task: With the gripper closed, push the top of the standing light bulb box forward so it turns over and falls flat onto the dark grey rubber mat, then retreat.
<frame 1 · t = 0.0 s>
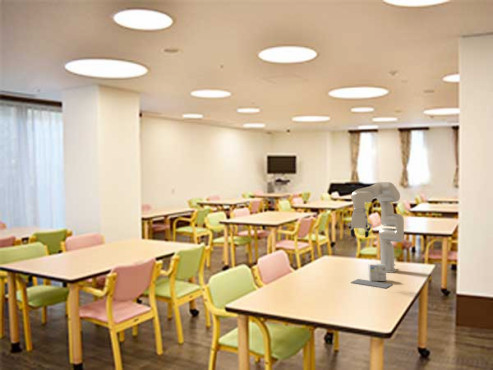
hand: (359, 236, 276), 31 cm above the table, fingers open, 9 cm apart
mat: (371, 284, 275), on the table
light bulb box: (377, 280, 282), on the table, touching mat
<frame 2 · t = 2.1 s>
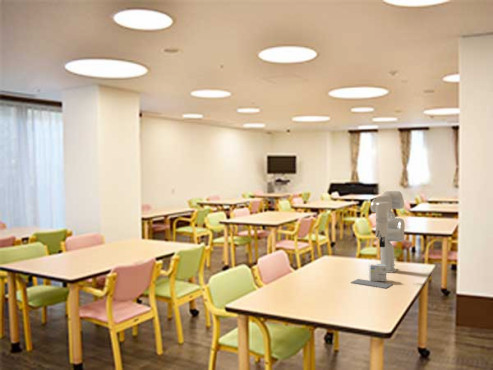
hand: (382, 246, 289), 22 cm above the table, fingers closed
nothing on the table moved.
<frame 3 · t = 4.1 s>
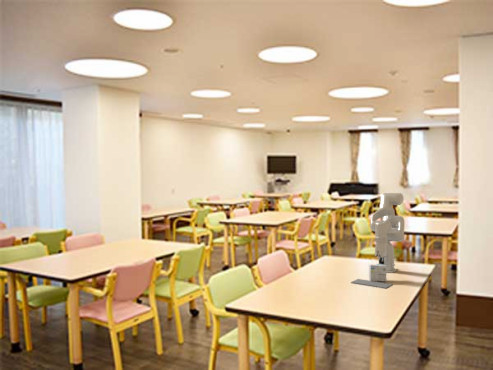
hand: (381, 266, 288), 8 cm above the table, fingers closed
light bulb box: (377, 280, 282), on the table, touching gripper, mat
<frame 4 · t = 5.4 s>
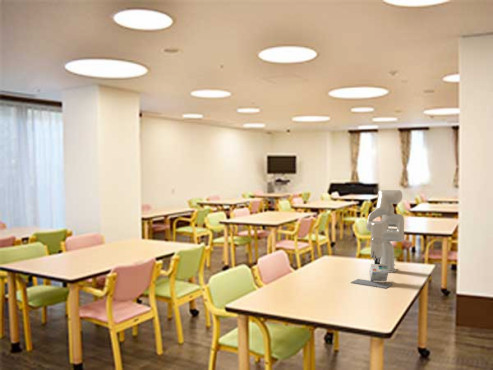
hand: (377, 267, 282), 9 cm above the table, fingers closed
light bulb box: (377, 277, 282), point 3 cm above the table, touching gripper, mat
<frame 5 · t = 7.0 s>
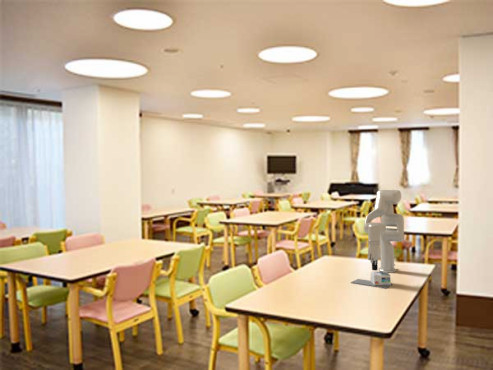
hand: (374, 270, 279), 8 cm above the table, fingers closed
light bulb box: (378, 276, 279), point 4 cm above the table, touching mat
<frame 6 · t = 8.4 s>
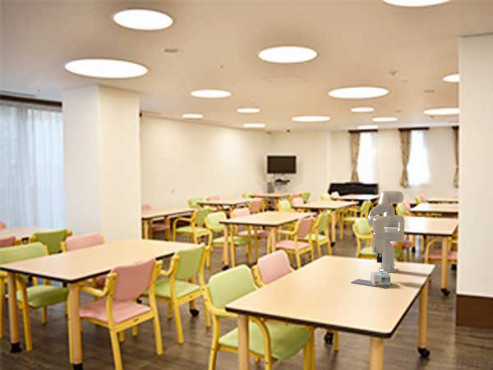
hand: (379, 262, 286), 12 cm above the table, fingers closed
nothing on the table moved.
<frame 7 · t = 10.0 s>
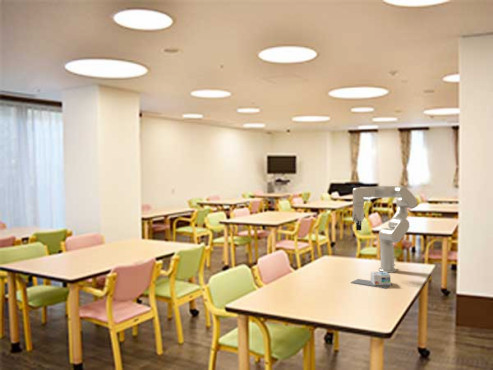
hand: (358, 230, 300), 32 cm above the table, fingers closed
nothing on the table moved.
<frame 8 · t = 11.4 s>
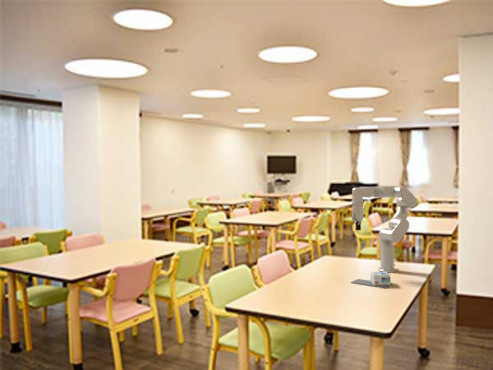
hand: (358, 230, 301), 32 cm above the table, fingers closed
nothing on the table moved.
at the end: light bulb box tilted 89°; light bulb box inside the target area (5.1 cm from its centre), point 3.8 cm above the table; the gripper is holding nothing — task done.
